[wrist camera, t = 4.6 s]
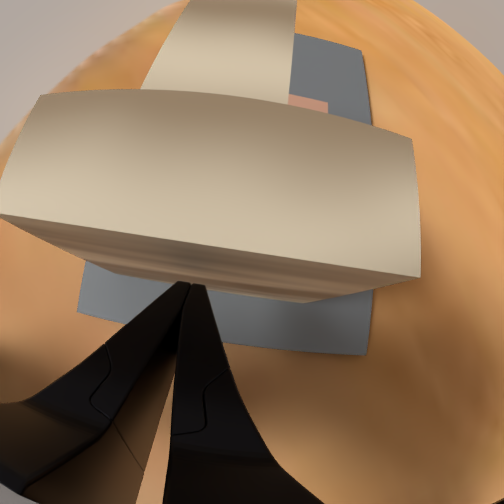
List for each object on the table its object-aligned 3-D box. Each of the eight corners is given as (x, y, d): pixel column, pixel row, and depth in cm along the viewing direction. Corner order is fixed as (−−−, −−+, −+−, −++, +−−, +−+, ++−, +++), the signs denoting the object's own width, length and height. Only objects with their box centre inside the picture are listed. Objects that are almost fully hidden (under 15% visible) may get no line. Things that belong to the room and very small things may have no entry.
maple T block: (303, 303, 15) (420, 277, 6) (115, 273, 15) (-11, 212, 5) (315, 152, 17) (383, 25, 8) (154, 129, 17) (115, -5, 7)
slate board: (361, 354, 16) (366, 355, 15) (81, 312, 15) (76, 312, 14) (359, 55, 21) (361, 50, 20) (179, 26, 20) (179, 21, 19)
